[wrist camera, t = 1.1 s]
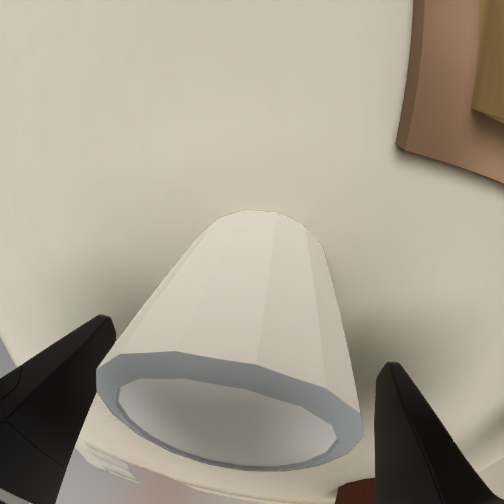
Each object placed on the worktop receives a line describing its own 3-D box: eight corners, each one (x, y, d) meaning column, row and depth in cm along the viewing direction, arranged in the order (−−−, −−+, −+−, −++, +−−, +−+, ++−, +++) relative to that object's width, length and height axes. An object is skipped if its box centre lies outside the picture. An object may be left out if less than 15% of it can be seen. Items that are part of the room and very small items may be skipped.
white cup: (157, 204, 11) (43, 337, 5) (343, 185, 10) (393, 354, 4) (200, 331, 15) (156, 458, 9) (342, 329, 13) (348, 475, 7)
